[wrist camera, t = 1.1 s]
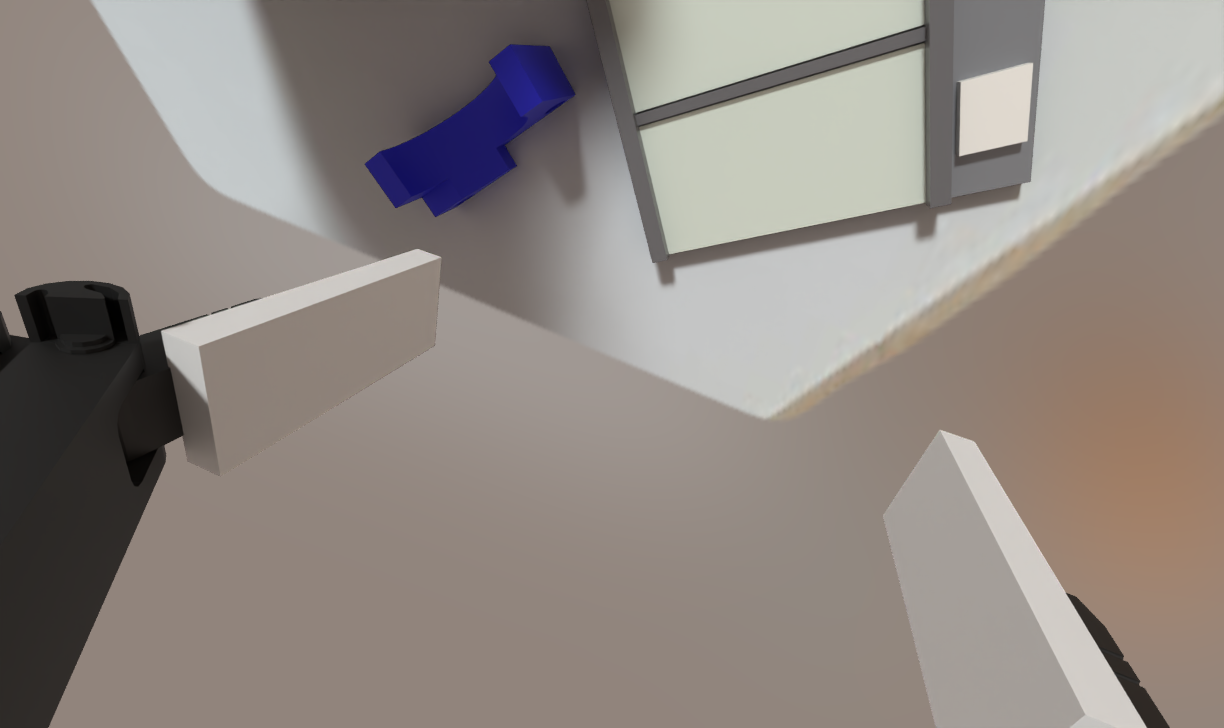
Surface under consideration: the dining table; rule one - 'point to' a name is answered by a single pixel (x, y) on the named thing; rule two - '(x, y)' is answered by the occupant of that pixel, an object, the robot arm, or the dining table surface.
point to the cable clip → (474, 134)
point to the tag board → (814, 108)
